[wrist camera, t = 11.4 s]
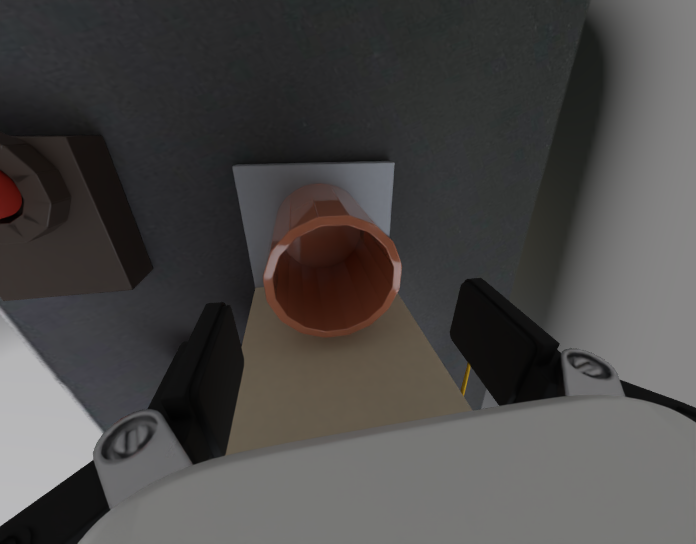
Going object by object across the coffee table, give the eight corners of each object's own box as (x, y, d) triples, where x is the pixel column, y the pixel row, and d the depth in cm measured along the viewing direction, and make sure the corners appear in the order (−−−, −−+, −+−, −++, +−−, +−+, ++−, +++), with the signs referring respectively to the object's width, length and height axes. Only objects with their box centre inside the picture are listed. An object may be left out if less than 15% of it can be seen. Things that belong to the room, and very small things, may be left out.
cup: (268, 184, 20) (252, 220, 12) (365, 181, 21) (407, 211, 13) (280, 272, 24) (274, 344, 16) (363, 265, 25) (396, 329, 17)
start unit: (-48, 128, 17) (-170, 127, 12) (99, 127, 18) (37, 127, 13) (42, 277, 21) (-21, 315, 17) (153, 269, 23) (120, 302, 18)
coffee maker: (234, 164, 20) (-236, 448, 2) (390, 160, 22) (818, 299, 4) (265, 332, 28) (216, 708, 10) (380, 319, 30) (516, 613, 12)
